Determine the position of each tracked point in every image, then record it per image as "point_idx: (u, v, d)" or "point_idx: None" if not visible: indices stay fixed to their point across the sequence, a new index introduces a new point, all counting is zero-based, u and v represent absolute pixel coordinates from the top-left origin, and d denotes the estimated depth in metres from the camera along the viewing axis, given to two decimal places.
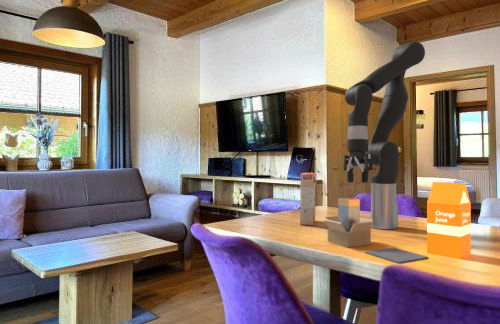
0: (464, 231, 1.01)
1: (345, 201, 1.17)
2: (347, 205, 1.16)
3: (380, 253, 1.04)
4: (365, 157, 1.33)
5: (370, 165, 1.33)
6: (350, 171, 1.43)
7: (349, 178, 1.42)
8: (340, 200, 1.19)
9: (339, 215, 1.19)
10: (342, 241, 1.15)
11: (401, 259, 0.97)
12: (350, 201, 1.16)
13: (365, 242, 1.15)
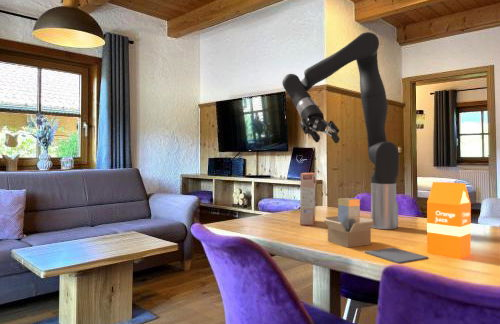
0: (464, 231, 1.01)
1: (345, 201, 1.17)
2: (347, 205, 1.16)
3: (380, 253, 1.04)
4: None
5: None
6: (332, 134, 1.36)
7: (334, 140, 1.34)
8: (340, 200, 1.19)
9: (339, 215, 1.19)
10: (342, 241, 1.15)
11: (401, 259, 0.97)
12: (350, 201, 1.16)
13: (365, 242, 1.15)
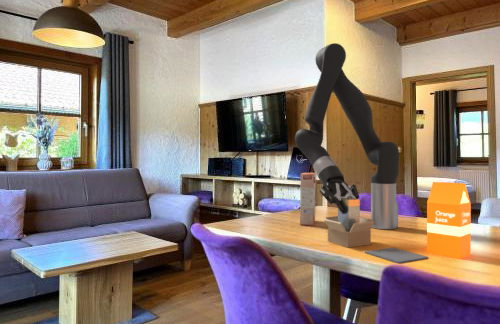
0: (464, 231, 1.01)
1: (345, 201, 1.17)
2: (347, 205, 1.16)
3: (380, 253, 1.04)
4: None
5: None
6: None
7: None
8: None
9: (339, 215, 1.19)
10: (342, 241, 1.15)
11: (401, 259, 0.97)
12: (350, 201, 1.16)
13: (365, 242, 1.15)
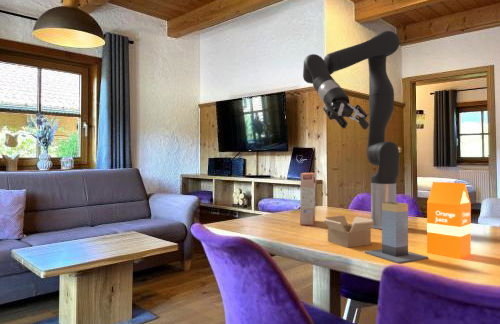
0: (464, 231, 1.01)
1: (391, 206, 1.01)
2: (394, 210, 1.00)
3: (380, 253, 1.04)
4: None
5: None
6: (359, 119, 1.21)
7: (362, 126, 1.20)
8: (385, 205, 1.03)
9: (383, 222, 1.04)
10: (342, 241, 1.15)
11: (401, 259, 0.97)
12: (398, 206, 1.00)
13: (365, 242, 1.15)
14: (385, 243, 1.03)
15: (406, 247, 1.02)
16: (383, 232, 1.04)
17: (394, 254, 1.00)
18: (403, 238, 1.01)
